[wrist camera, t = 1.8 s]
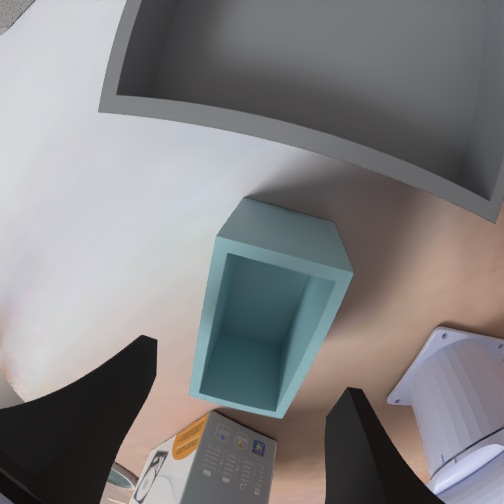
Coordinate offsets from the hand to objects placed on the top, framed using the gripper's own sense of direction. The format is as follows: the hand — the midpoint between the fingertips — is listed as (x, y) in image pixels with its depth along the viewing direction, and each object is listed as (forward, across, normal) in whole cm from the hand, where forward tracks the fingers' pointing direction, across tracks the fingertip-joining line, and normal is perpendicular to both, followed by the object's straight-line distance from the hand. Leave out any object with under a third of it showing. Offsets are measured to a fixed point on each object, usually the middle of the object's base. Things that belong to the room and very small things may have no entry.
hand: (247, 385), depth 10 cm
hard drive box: (+8, +1, +22) cm, 24 cm away
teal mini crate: (+8, 0, 0) cm, 8 cm away
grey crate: (+8, 0, -15) cm, 17 cm away
